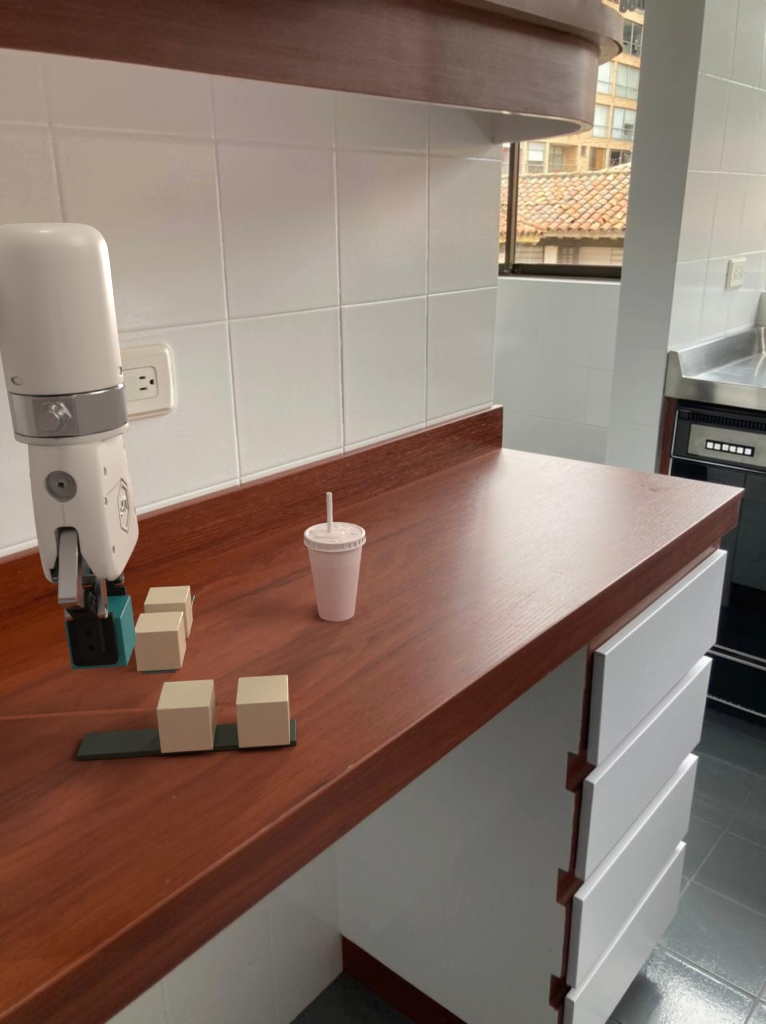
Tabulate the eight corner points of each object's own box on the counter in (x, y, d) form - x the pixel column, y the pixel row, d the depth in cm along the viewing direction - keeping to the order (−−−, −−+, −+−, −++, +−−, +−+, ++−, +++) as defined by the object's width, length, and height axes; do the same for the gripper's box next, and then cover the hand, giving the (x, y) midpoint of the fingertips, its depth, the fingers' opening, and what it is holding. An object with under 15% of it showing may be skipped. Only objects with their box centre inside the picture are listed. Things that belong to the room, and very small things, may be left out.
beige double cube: (136, 679, 75) (131, 635, 74) (163, 600, 91) (159, 562, 89) (181, 676, 75) (176, 632, 74) (199, 598, 91) (196, 561, 90)
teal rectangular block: (127, 666, 61) (120, 618, 59) (71, 669, 60) (64, 621, 59) (136, 640, 65) (130, 594, 63) (84, 644, 64) (77, 597, 63)
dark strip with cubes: (75, 765, 63) (68, 714, 62) (87, 734, 67) (80, 686, 65) (296, 749, 65) (294, 700, 63) (295, 720, 69) (293, 673, 67)
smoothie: (294, 615, 87) (289, 490, 83) (342, 598, 91) (339, 478, 86) (330, 637, 83) (326, 506, 78) (379, 618, 86) (378, 492, 82)
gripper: (100, 439, 49) (135, 704, 55) (145, 388, 64) (168, 598, 70) (-31, 444, 48) (19, 712, 54) (47, 391, 64) (79, 603, 70)
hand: (103, 645), depth 62 cm, fingers closed on teal rectangular block, 4 cm apart
